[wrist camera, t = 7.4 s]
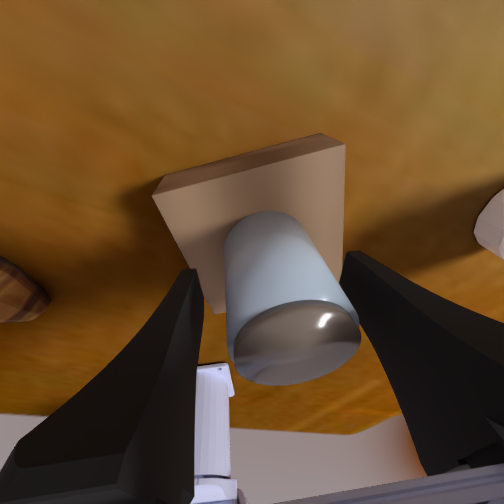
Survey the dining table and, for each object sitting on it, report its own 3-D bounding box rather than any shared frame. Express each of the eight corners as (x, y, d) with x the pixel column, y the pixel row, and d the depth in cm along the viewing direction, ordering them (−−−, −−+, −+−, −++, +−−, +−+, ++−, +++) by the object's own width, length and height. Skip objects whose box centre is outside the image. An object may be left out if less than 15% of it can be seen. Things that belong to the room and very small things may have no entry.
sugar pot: (230, 285, 14) (237, 396, 9) (216, 217, 11) (215, 323, 6) (304, 274, 14) (352, 375, 9) (310, 205, 11) (383, 296, 6)
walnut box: (215, 284, 18) (214, 314, 16) (164, 175, 13) (151, 195, 10) (325, 257, 18) (341, 284, 15) (320, 133, 12) (345, 143, 10)
